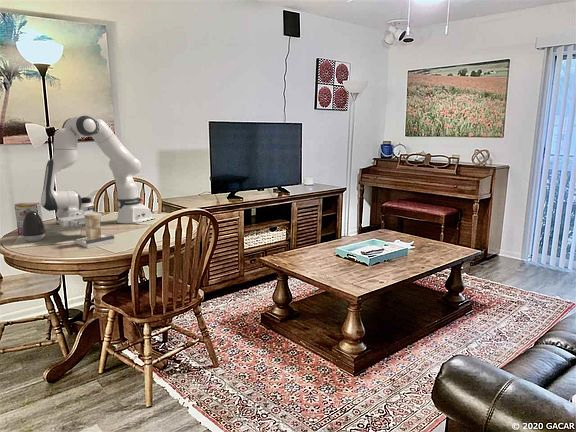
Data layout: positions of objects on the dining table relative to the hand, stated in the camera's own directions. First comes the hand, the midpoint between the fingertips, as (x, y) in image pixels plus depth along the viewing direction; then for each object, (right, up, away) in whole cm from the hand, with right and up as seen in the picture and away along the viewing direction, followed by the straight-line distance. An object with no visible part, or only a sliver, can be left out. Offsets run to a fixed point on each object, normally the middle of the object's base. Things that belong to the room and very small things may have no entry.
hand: (87, 221), depth 214 cm
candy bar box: (-38, -7, +17) cm, 42 cm away
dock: (+6, -10, -3) cm, 12 cm away
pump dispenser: (-27, -10, +2) cm, 29 cm away
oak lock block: (+5, -8, -3) cm, 10 cm away
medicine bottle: (-28, +3, +61) cm, 67 cm away
